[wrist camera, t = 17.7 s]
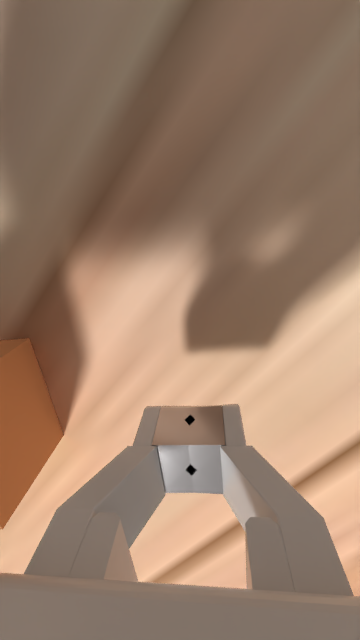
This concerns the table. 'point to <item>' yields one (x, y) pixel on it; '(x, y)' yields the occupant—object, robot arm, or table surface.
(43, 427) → the orange stepped block
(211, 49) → the table surface
